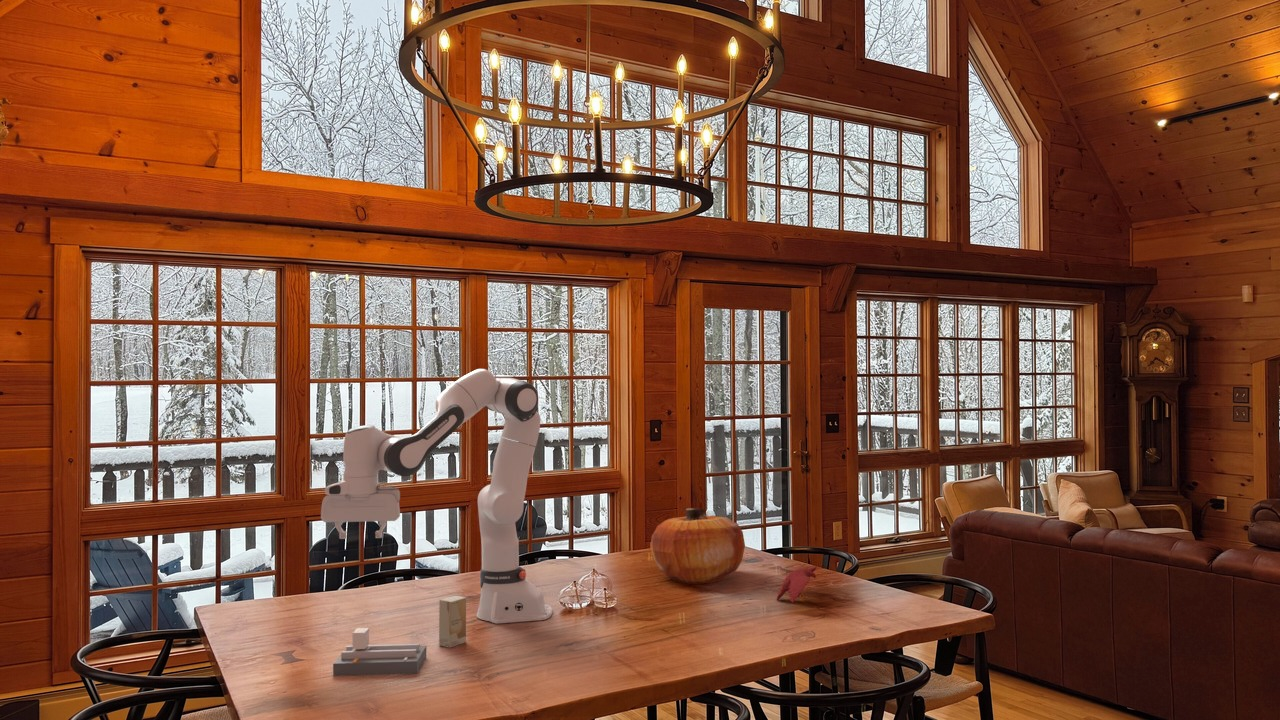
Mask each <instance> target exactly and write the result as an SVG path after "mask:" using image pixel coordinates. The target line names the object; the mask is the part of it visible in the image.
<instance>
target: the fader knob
mask: <svg viewBox="0 0 1280 720" xmlns="http://www.w3.org/2000/svg"><path fill="white" fill-rule="evenodd" d="M351 636H352V646H353V650H352V651H369V650H370V647H367V646H368V645H370V628H369V627H359V628H358V627H356V628H355V630H354V631H352V635H351Z"/></svg>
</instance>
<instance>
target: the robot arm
mask: <svg viewBox="0 0 1280 720" xmlns="http://www.w3.org/2000/svg"><path fill="white" fill-rule="evenodd" d="M538 405H539V393H538V390H537V389H536V387H535V386H534V385H533V384H531V383H529V382H528V381H526V380H521V379H518V378H513V377H502V376H501V377H500V376H495V375H494V374H493V373H492V372H491V371H489V370H488V369H486V368H476V369H475V370H473V371H470V372H469V373H466V374H465V375H463V376H462V377H459V378H458V379H457V380H456V381H454V382H453V383H451V384H449V386H447V387H446V388H444V390H443V391H442V392H441V393H440V394H439V395H438V396H437V398H436V401H435V411H436V415H435V416H434V417H433V418H432V419H431V420H430V421H429V422H428V423H427V424H425V425H424V426H423V427H422V428H420V430H419V431H417V432H416V433H414V434H413V435H410V436H406V437H399V436H394V435H393V434H390V433H386V432H385V431H382V430H380V429H378V428H377V427H376V426H375V425H372V424H369V425H368V424H367V425H358V426H354V427H352V428H350V429H348V430H347V432H346V433H345V436H344V440H343V453H342V455H343V458H342V459H343V464H344V471H343V478H342V479H343V480H342V481H337V482H336V483H332V484H329V485H328V486H326V487H325V489H324V494H325V495H326V496H324V497H323V499H322V501H321V509H320V520H322V522H324V523H334V527H335V528H336V530H337V532H338V536H339V537H338V539H340V540H345V539H347V536H348V535H347V530H344V529H343V528H342V525H343V523H354V522H355V523H357V522H359V523H361V522H379V523H378V524H379V526H380V527H379V530H376V531H375V532H374V534H375V537H374V538H375V539H382V538H383V532H384V531H383V530H384V529H385V527H386V526H387V524H388V523H387V522H396V521H397V520H398V519H399V518H400V517H401V509H400V500H401V491H400V489H399V488H398V487H396V486H395V485H388V486H387V485H379V471H385V472H388V473H389V472H390V473H393V474H395V475H397V476H399V477H411V476H412V475H414V474H416V473H417V472H419V471H420V470H421V468H423V466H424V464H425V463H426V461H427V458H428V457H429V455H431V453H432V452H433V451H434V450H435V449H436V448H437V447H439V445H440V444H442V442H444V441H445V440H446V439H447V438H448V437H449V436H451V435H452V434H453V432H455V431H456V430H457V429H458V428H459V427H460V426H461V425H463V424H464V423H465V422H467V421H469V420H470V419H471V418H472V417H474V416H475V415H476V414H477V413H479V412H480V411H481V410H482V409H483V408H486V409H487V410H489V411H491V412H496V413H498V414H500V415H504V426H503V430H502V432H501V435H500V439H499V442H498V445H497V449H496V451H495V455H494V458H493V463H492V464H493V465H492V473H491V480H490V484H487V485H486V486H484V487H482V489H480V491H479V493H478V496H477V509H478V511H477V512H478V522H479V523H478V524H479V532H480V539H481V540H480V541H481V569H480V570H479V571H480V572H479V586H480V588H481V589H480V597H479V599H480V600H479V603H478V609H477V613H476V617H477V618H478V619H479V620H483V621H487V622H490V623H493V624H507V623H508V624H509V623H518V622H519V623H521V622H531V621H532V622H533V621H534V622H536V621H543V620H547V619H549V618H550V617H551V616H552V615H553V614H552V613H553V609H552V607H551V606H550V605H548V604H546V603H545V598H544V595H543V592H542V590H541V589H539V588H538V587H537V586H535V585H534V584H533V583H531V582H530V581H529V580H527V579H526V577H527V572H526V569H525V567H523V568H522V567H521V566H519V563H520V557H519V555H520V553H519V549H520V547H519V538H518V534H517V533H518V532H517V527H516V522H518V521H519V520H520V518H521V517H522V516H523V513H524V504H525V503H524V502H525V497H526V493H527V485H528V484H527V483H528V476H529V471H530V467H531V463H532V461H533V458H534V455H535V451H536V447H537V443H538V439H539V435H540V428H541V415H540V413H539V412H538Z"/></svg>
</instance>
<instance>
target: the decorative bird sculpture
mask: <svg viewBox="0 0 1280 720" xmlns="http://www.w3.org/2000/svg"><path fill="white" fill-rule="evenodd" d="M817 568H818V567H817V566H811V567H810V566H809V567H803V568H798V569H795V570H793V571H791V572H790V573H788V575H787V576H786V577H785V579H784V580H783V583H782V586H781V587H780V590H779V592H778V593H777V596H776V601H779V600H780V599H781V598H782V597H783V596H784V595H785V593H788V594H789V595H788V596H789V602H792V603H794V602H796V600H797V599H798V598H799V599H800V600H802V603H804V602H806V601H807V599H808V598H809V597H805V596H804V595H803V594H802V591H804V590H805V588H806V587H807V585H808V583H809V581H810V578H811V577H812V578H813V579H816V578H817V575H816V574H815V573H814V572H815V571H816V570H817Z"/></svg>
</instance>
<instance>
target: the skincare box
mask: <svg viewBox="0 0 1280 720" xmlns="http://www.w3.org/2000/svg"><path fill="white" fill-rule="evenodd" d="M438 604H439V606H438V608H439V611H438V613H439V615H438V617H439V618H438V619H439V620H438V621H439V623H438V624H439V626H438V627H439V629H438V646H442V647H446V648H453V647H456V646H460V645H462V644H465V643H466V642H467V597H465V596H461V595H460V596H459V595H453V596H449V597H445V598H441V599H439V603H438Z"/></svg>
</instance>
